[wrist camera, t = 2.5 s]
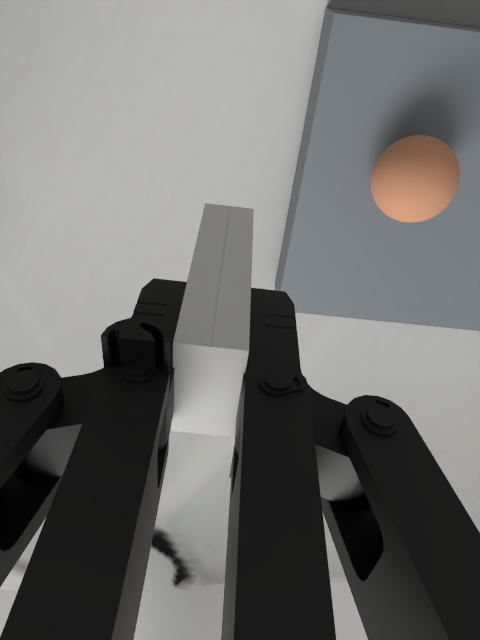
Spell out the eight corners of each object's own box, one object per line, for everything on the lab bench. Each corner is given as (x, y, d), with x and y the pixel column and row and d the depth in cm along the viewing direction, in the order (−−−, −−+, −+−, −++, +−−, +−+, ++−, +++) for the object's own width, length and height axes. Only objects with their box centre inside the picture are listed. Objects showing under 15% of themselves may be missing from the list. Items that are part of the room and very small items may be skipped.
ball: (354, 197, 25) (369, 232, 21) (376, 119, 22) (396, 145, 19) (427, 205, 25) (452, 241, 22) (456, 129, 22) (489, 156, 19)
